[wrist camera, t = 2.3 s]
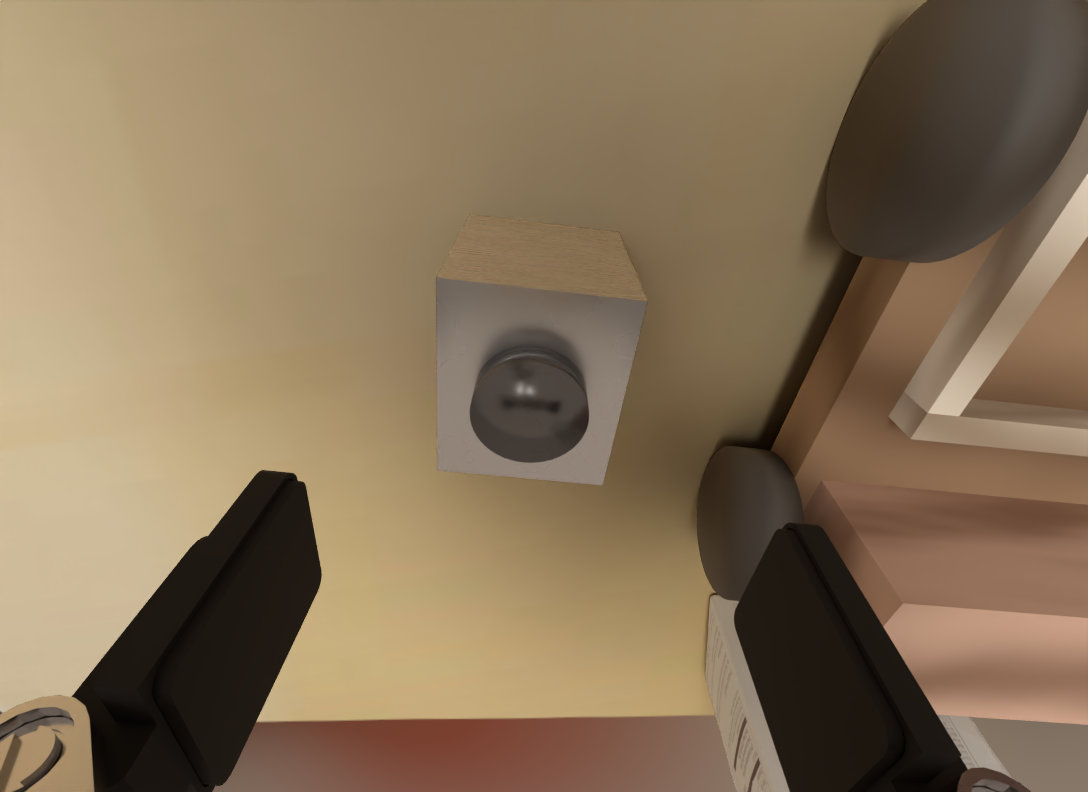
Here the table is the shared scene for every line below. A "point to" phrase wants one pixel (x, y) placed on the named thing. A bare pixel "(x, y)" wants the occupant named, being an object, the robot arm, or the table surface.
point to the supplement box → (747, 726)
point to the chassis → (950, 366)
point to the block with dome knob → (534, 349)
